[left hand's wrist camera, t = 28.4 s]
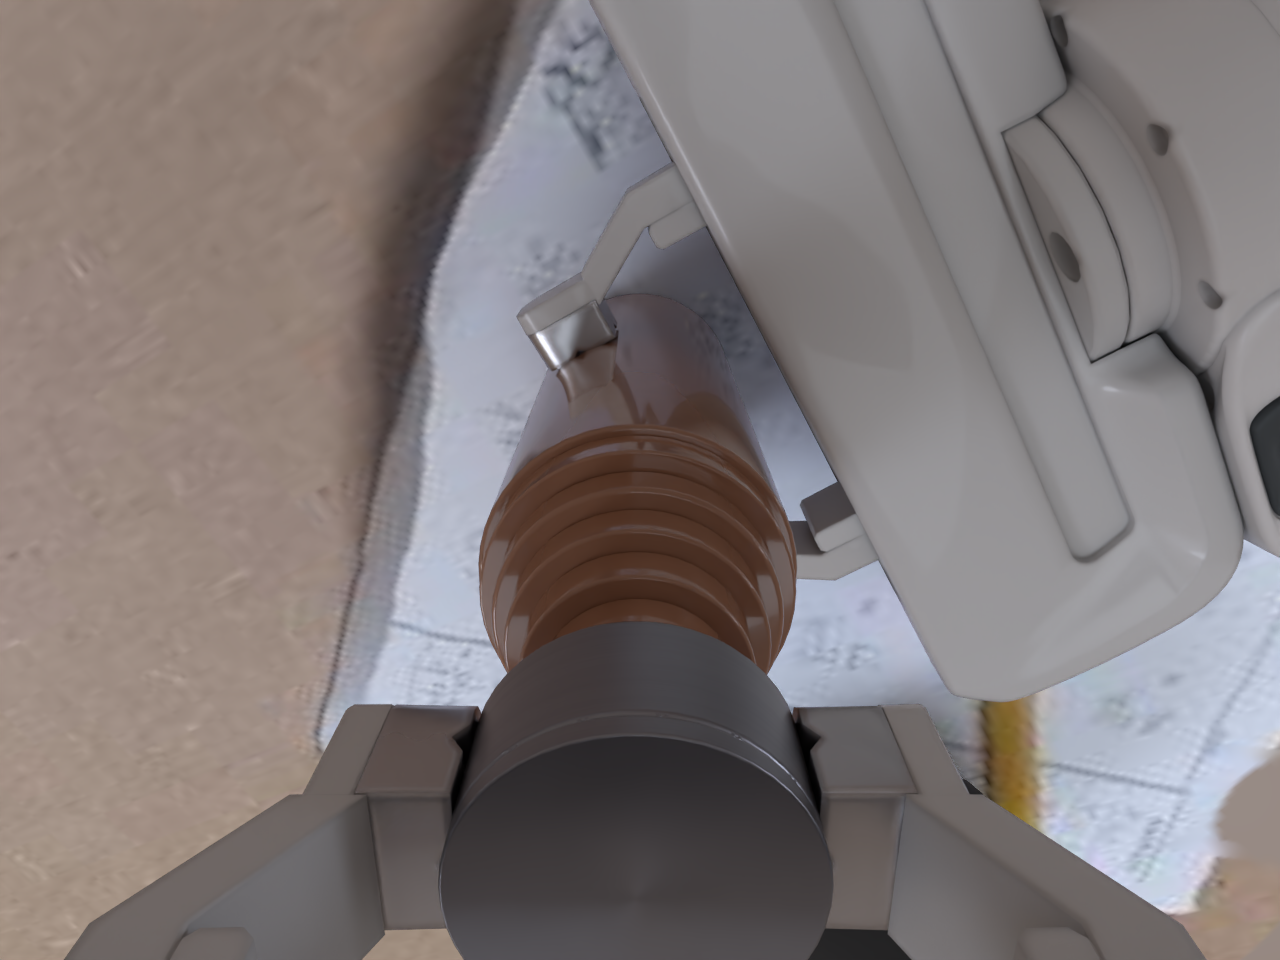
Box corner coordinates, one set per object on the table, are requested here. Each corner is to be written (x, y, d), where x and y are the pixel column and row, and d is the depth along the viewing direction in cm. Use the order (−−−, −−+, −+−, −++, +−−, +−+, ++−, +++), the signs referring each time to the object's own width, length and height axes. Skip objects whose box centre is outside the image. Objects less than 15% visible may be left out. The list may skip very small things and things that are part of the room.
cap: (525, 575, 10) (497, 684, 8) (850, 673, 10) (901, 798, 8) (439, 840, 11) (396, 988, 9) (730, 917, 11) (748, 1073, 10)
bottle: (649, 253, 25) (668, 506, 8) (764, 393, 27) (990, 860, 10) (512, 373, 27) (274, 813, 9) (629, 500, 28) (611, 1083, 11)
